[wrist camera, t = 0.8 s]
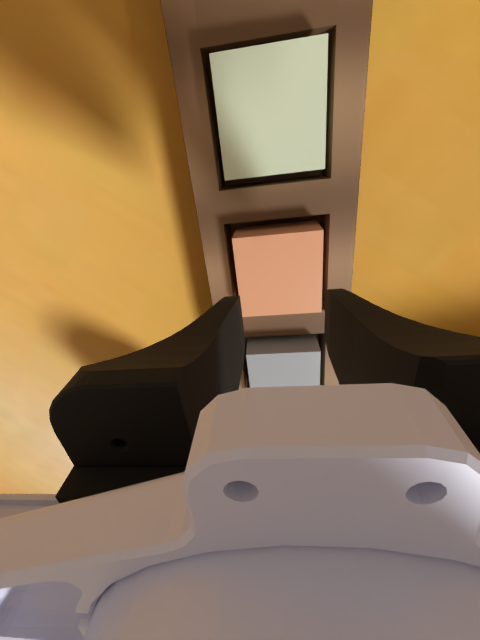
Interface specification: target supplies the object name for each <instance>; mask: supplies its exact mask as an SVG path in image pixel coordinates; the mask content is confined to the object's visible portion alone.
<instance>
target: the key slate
mask: <svg viewBox="0 0 480 640" xmlns="http://www.w3.org/2000/svg"><path fill="white" fill-rule="evenodd" d="M246 358H247V367H248V375H249V383H250V388H254V387H285V386H316V385H320V360H321V351H320V347H319V344H318V340H317V336H316V334H299V335H280V336H262V337H248V341H247V351H246Z"/></svg>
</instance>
